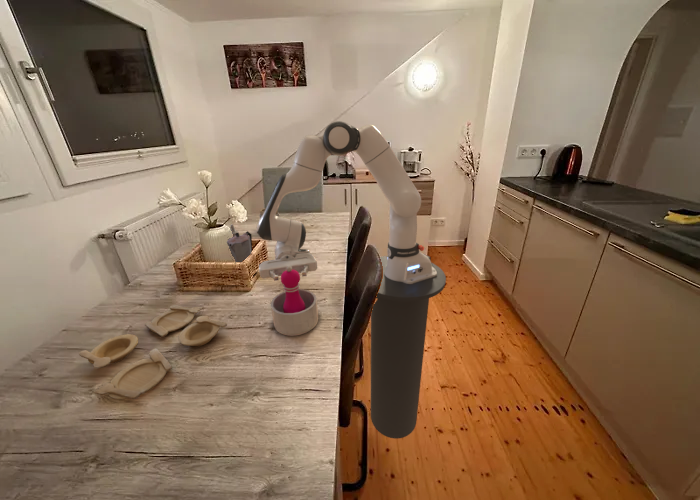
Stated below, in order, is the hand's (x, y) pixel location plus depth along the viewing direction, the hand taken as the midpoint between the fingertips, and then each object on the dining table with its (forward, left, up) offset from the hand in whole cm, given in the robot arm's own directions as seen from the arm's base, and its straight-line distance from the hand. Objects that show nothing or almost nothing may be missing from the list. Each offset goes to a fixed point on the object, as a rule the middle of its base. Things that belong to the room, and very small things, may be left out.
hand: (290, 276), depth 94 cm
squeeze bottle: (+23, -52, -14) cm, 59 cm away
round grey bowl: (0, +6, -13) cm, 15 cm away
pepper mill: (0, +6, -13) cm, 15 cm away
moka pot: (+18, -34, -14) cm, 41 cm away
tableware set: (+41, +6, -14) cm, 44 cm away
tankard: (+6, -94, -14) cm, 95 cm away
